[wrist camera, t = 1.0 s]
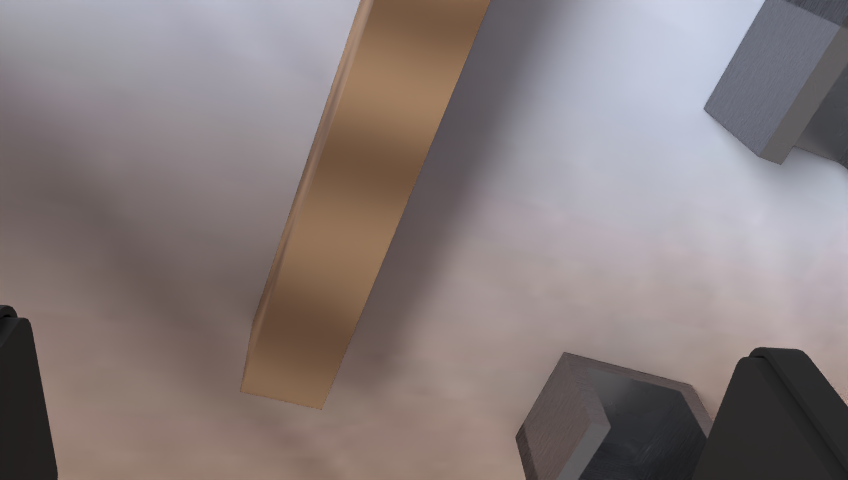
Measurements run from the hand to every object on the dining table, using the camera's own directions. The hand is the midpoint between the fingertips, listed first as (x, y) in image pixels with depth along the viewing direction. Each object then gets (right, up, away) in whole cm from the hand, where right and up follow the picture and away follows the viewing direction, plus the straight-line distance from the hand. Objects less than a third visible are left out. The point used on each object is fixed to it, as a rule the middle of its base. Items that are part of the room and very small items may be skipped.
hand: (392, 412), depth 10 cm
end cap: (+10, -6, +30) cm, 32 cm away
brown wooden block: (-2, +7, +21) cm, 22 cm away
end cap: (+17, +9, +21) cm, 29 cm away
